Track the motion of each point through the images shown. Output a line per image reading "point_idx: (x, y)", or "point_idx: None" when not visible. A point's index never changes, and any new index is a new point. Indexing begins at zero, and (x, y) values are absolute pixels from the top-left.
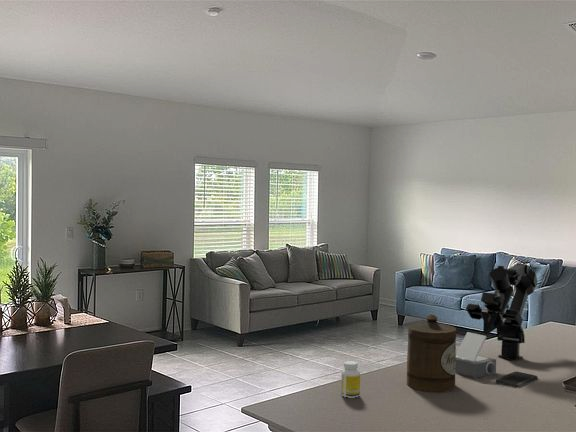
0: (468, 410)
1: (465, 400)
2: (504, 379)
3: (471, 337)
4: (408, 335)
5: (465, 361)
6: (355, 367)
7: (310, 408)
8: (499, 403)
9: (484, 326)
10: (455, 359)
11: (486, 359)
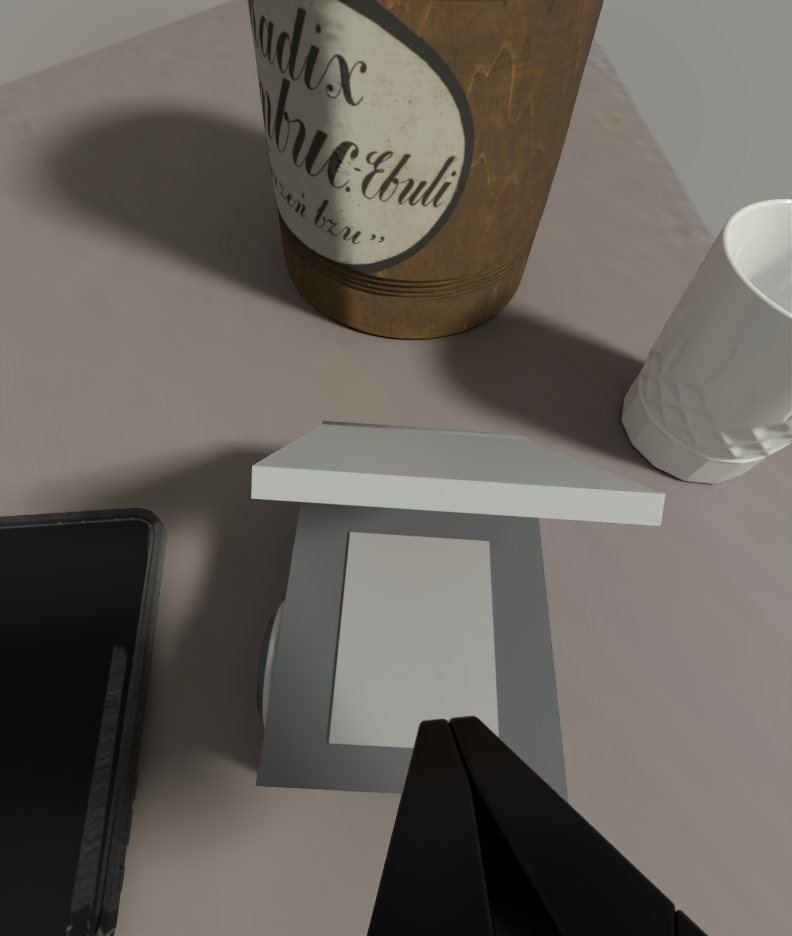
0: (104, 145)
1: (164, 204)
2: (108, 592)
3: (505, 470)
4: None
5: None
6: None
7: None
8: (14, 254)
9: (559, 831)
10: (273, 129)
11: (333, 680)
